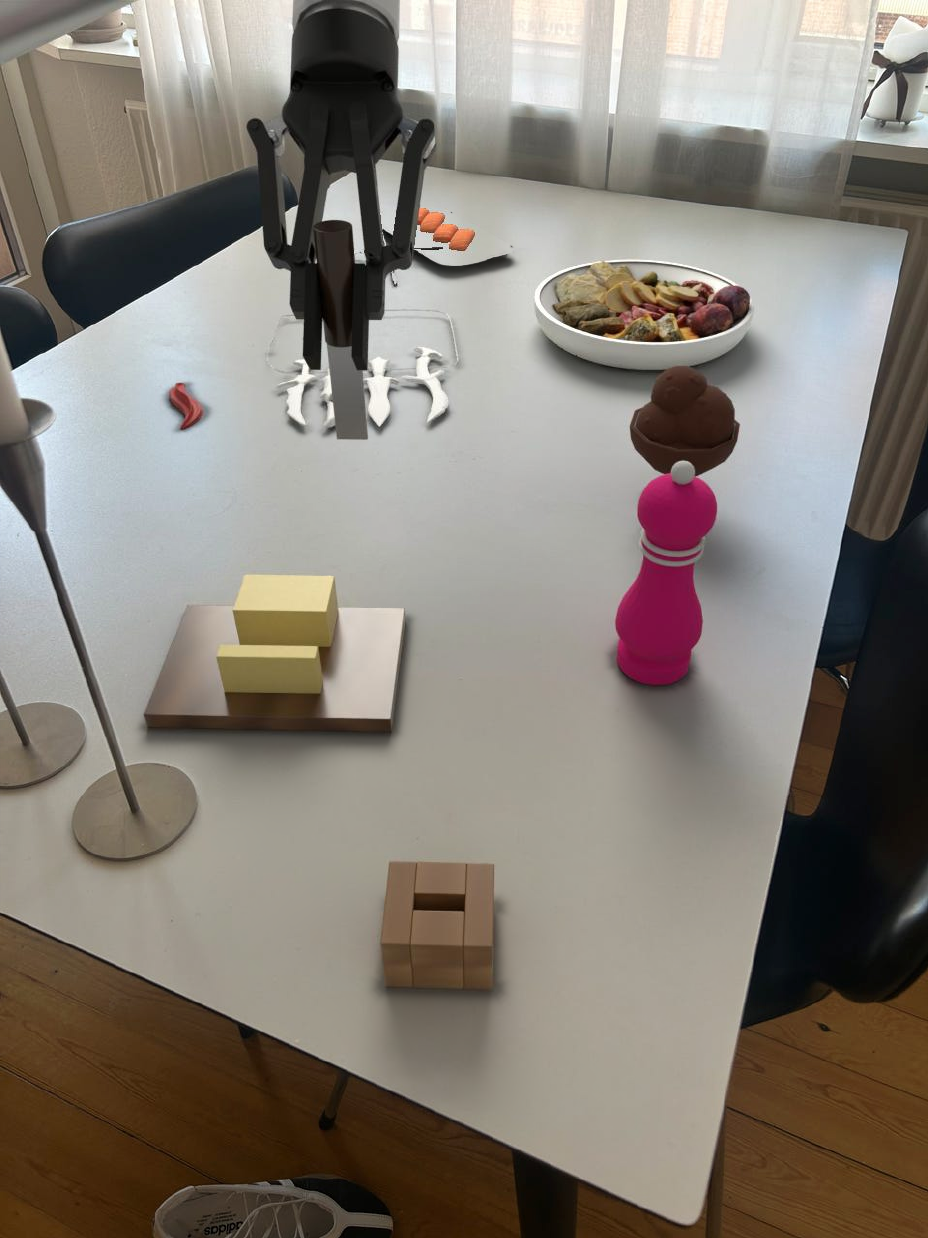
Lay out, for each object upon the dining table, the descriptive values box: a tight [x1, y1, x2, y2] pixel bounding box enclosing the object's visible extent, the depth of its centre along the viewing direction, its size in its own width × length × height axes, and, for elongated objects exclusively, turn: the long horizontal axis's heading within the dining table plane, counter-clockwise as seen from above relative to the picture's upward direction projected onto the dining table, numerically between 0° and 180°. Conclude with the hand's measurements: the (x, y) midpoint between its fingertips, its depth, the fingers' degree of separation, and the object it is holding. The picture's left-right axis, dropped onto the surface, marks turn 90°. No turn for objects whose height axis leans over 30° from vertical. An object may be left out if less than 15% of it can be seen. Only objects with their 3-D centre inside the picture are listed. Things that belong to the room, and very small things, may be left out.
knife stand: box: [379, 860, 495, 991], centre depth 62 cm, size 7×6×5 cm
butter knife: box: [313, 219, 369, 441], centre depth 69 cm, size 3×3×16 cm
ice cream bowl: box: [629, 366, 741, 477], centre depth 98 cm, size 11×11×15 cm
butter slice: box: [216, 645, 323, 694], centre depth 79 cm, size 8×2×4 cm, turn 88°
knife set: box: [266, 308, 459, 428], centre depth 128 cm, size 26×35×1 cm
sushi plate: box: [396, 208, 475, 285], centre depth 161 cm, size 29×30×4 cm
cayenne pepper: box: [168, 382, 204, 430], centre depth 120 cm, size 12×5×2 cm, turn 6°
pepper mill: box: [614, 461, 718, 686], centre depth 78 cm, size 7×7×20 cm
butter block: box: [232, 574, 339, 647], centre depth 84 cm, size 8×5×4 cm, turn 88°
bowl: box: [533, 259, 755, 371], centre depth 134 cm, size 30×30×8 cm
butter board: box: [143, 604, 407, 733], centre depth 83 cm, size 20×14×2 cm
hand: (335, 362), depth 66 cm, fingers closed on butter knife, 3 cm apart
